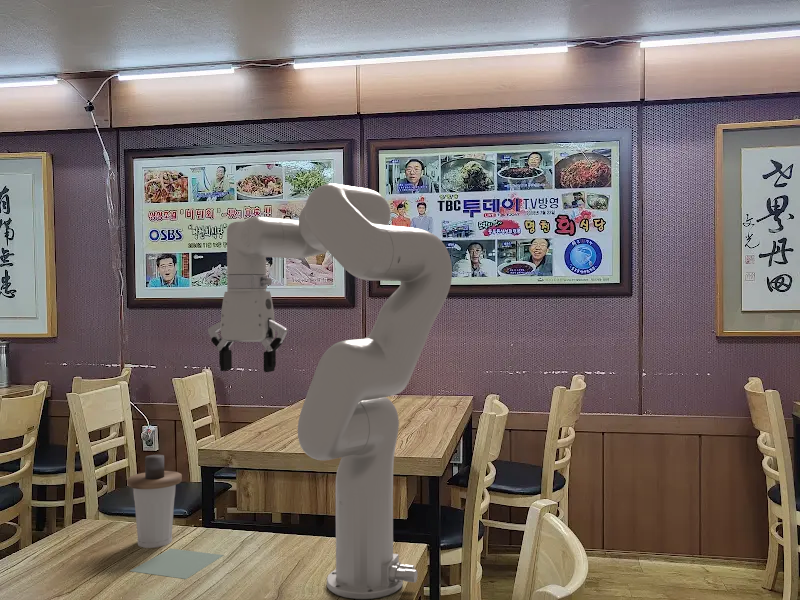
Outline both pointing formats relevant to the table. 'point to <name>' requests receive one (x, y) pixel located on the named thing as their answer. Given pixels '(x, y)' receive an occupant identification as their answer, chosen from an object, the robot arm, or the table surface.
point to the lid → (154, 475)
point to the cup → (154, 516)
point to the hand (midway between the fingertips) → (247, 370)
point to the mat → (177, 563)
